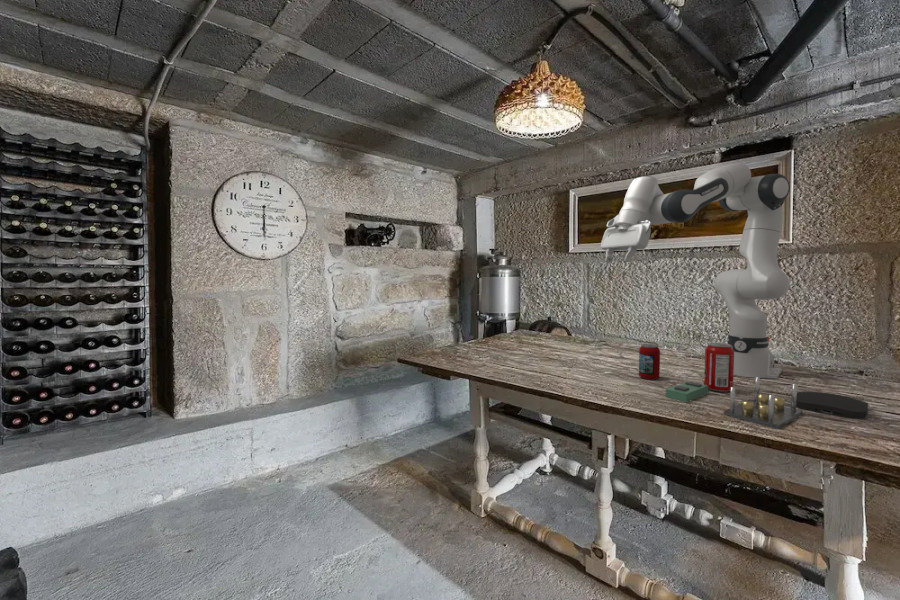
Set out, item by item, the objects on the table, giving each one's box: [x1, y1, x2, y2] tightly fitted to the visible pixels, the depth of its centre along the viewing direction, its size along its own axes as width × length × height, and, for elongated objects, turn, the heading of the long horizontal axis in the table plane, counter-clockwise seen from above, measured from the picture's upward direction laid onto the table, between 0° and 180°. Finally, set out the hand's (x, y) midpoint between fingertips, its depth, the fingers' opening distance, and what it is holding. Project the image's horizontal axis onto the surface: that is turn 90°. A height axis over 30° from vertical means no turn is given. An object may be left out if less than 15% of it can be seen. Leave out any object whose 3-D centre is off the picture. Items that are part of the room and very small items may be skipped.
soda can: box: [703, 342, 735, 393], centre depth 129 cm, size 8×8×15 cm
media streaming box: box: [796, 391, 869, 420], centre depth 112 cm, size 15×15×3 cm
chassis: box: [723, 377, 803, 430], centre depth 107 cm, size 17×12×8 cm
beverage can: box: [638, 343, 661, 381], centre depth 144 cm, size 7×7×12 cm
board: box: [665, 381, 709, 403], centre depth 124 cm, size 14×6×4 cm, turn 124°
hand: (616, 261), depth 133 cm, fingers open, 8 cm apart
